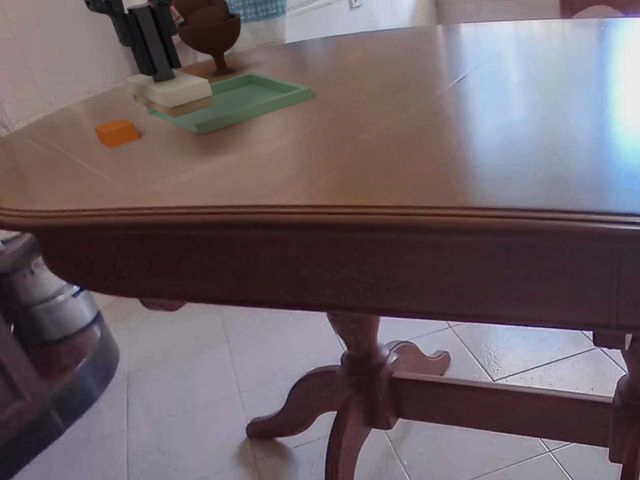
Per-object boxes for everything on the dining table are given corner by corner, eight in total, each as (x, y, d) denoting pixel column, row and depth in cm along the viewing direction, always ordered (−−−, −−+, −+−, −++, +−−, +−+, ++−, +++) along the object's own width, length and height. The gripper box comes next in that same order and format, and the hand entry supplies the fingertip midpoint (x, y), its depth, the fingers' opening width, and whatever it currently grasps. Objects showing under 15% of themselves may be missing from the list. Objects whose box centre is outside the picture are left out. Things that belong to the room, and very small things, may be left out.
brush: (132, 102, 88) (95, 7, 82) (173, 91, 91) (140, -2, 85) (173, 118, 80) (135, 15, 74) (216, 105, 83) (183, 4, 77)
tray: (150, 119, 106) (144, 102, 105) (255, 87, 116) (251, 71, 114) (203, 141, 95) (197, 123, 94) (314, 104, 105) (310, 87, 103)
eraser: (103, 148, 97) (93, 127, 95) (131, 139, 99) (122, 118, 97) (113, 154, 94) (104, 132, 93) (142, 145, 96) (133, 123, 95)
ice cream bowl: (248, 84, 118) (219, -15, 109) (183, 90, 118) (150, -8, 110) (264, 67, 126) (238, -26, 118) (203, 73, 127) (174, -19, 118)
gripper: (-2, -172, 63) (106, 93, 77) (163, -184, 71) (235, 57, 85) (-22, -165, 68) (83, 84, 82) (135, -177, 76) (207, 51, 90)
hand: (161, 70), depth 83 cm, fingers closed on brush, 3 cm apart
